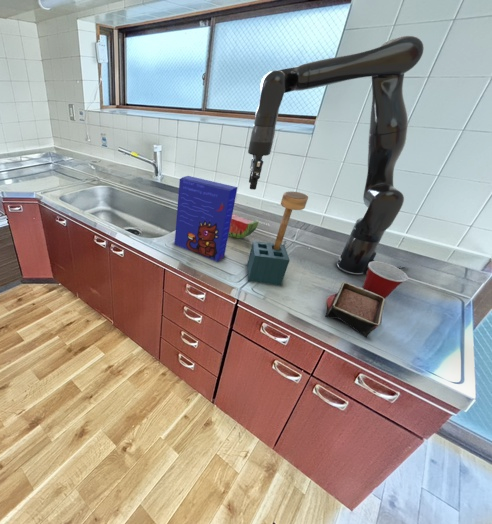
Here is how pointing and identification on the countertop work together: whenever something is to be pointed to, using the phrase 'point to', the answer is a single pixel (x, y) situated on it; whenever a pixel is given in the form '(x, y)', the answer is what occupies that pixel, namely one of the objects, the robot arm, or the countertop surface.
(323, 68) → the robot arm
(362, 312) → the baking dish
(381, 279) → the plastic cup
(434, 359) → the countertop surface
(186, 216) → the cereal box
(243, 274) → the countertop surface
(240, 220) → the fruit slice
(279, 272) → the holder
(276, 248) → the wooden mallet
